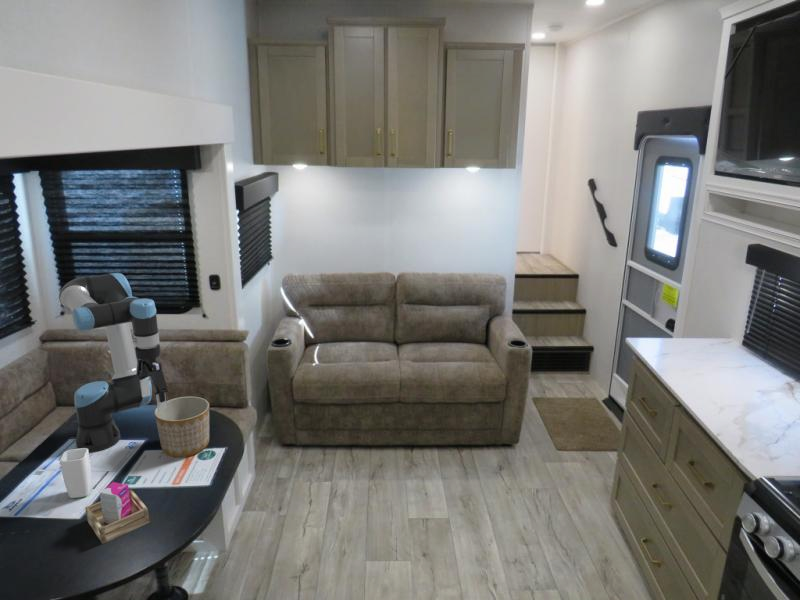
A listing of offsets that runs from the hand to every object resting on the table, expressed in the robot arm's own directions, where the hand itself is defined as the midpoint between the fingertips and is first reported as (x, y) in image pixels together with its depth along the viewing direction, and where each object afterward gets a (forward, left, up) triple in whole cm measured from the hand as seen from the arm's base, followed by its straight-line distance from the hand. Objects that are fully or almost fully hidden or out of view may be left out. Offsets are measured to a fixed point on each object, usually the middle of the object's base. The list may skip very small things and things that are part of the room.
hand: (154, 402), depth 188 cm
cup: (-5, -25, -27) cm, 37 cm away
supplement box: (+18, -21, -26) cm, 38 cm away
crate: (+18, -21, -27) cm, 38 cm away
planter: (-9, +13, -27) cm, 31 cm away
